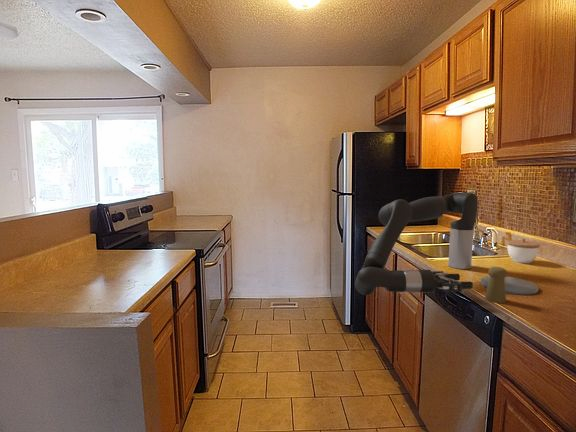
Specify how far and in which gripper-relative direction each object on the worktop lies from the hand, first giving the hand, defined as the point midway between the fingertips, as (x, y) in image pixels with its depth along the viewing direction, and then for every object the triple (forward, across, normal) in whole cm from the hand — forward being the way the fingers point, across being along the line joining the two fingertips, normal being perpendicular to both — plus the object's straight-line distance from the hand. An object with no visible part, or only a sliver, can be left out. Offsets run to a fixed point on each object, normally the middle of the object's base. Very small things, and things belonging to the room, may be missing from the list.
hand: (465, 280), depth 114 cm
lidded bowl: (+52, +50, +7) cm, 73 cm away
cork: (+10, 0, +7) cm, 12 cm away
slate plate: (+23, +14, +6) cm, 28 cm away
